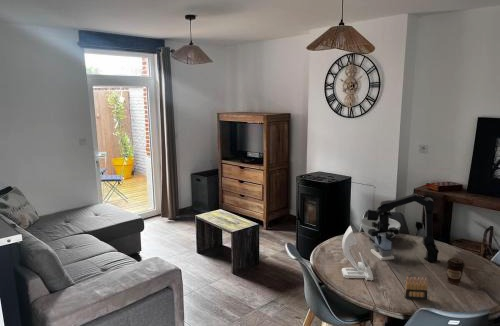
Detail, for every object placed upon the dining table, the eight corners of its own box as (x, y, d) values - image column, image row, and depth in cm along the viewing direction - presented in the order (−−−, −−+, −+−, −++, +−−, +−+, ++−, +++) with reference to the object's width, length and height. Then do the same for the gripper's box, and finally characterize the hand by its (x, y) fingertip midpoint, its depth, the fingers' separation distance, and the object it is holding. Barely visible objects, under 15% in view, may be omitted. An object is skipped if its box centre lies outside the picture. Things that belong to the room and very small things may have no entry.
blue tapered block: (391, 249, 229) (391, 241, 228) (384, 250, 228) (384, 242, 227) (381, 241, 241) (381, 234, 240) (374, 242, 240) (375, 235, 239)
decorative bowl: (352, 234, 271) (353, 218, 268) (383, 229, 278) (384, 214, 276) (375, 248, 245) (376, 231, 243) (408, 243, 253) (409, 226, 251)
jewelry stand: (373, 280, 205) (375, 238, 200) (345, 280, 205) (346, 238, 200) (361, 260, 229) (363, 222, 224) (336, 260, 230) (337, 222, 225)
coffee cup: (462, 287, 196) (464, 265, 193) (444, 283, 200) (446, 261, 197) (462, 280, 203) (465, 258, 200) (446, 276, 207) (448, 255, 205)
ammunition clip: (405, 298, 187) (406, 276, 184) (404, 296, 189) (405, 275, 186) (427, 299, 185) (429, 278, 183) (426, 297, 187) (427, 276, 185)
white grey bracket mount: (394, 258, 230) (394, 249, 229) (380, 260, 229) (381, 250, 227) (383, 250, 243) (383, 241, 241) (370, 251, 241) (371, 242, 240)
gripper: (390, 216, 241) (389, 238, 244) (364, 218, 238) (363, 240, 241) (400, 221, 230) (398, 244, 233) (372, 224, 227) (371, 247, 230)
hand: (382, 244), depth 234 cm, fingers closed on blue tapered block, 4 cm apart
